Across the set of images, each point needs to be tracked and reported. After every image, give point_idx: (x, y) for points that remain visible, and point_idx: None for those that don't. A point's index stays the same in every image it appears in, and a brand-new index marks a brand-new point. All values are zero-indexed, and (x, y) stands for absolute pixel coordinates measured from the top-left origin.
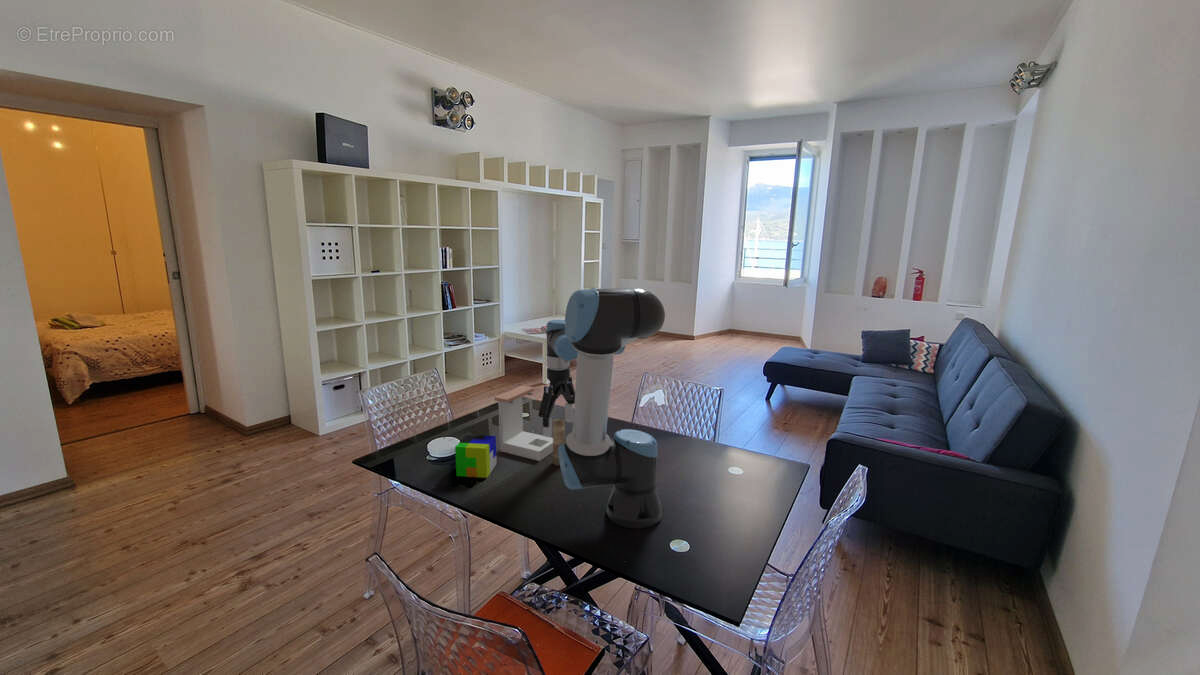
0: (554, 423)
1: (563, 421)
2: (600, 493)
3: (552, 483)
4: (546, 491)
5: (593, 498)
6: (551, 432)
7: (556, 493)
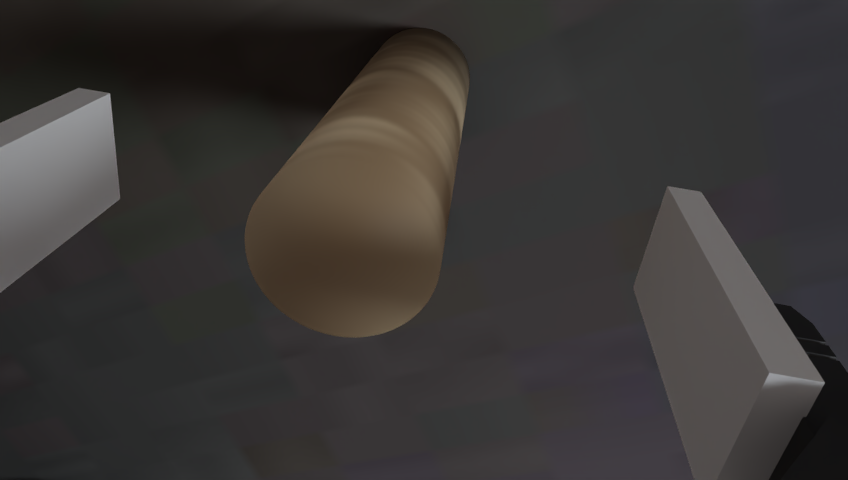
0: (253, 213)
1: (351, 325)
2: (166, 428)
3: None
4: None
5: (104, 411)
6: (90, 220)
7: None
